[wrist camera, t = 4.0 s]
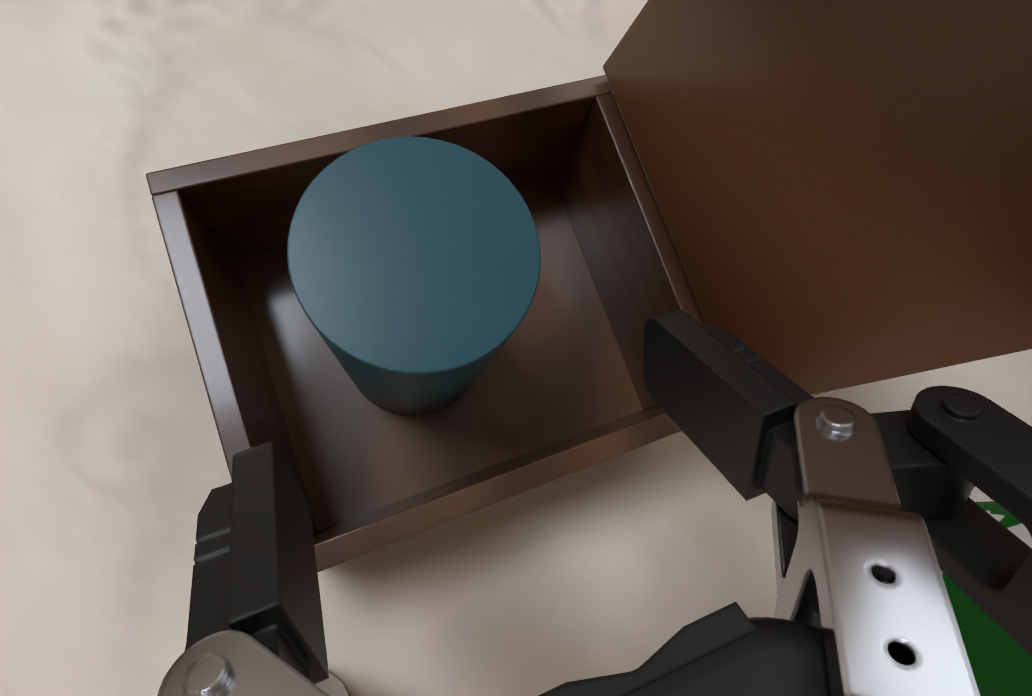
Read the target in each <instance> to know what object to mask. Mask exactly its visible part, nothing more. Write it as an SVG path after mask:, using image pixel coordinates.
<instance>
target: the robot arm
mask: <svg viewBox="0 0 1032 696" xmlns="http://www.w3.org/2000/svg"><path fill="white" fill-rule="evenodd" d="M643 378H644V382H645V385H646V388H647V390H648V392H649V394H650V395H651V397H652V398H653V399H654V400H655V402H656V403H657V404H658V405H659V406H660V407H661V408H662V409H663V410H664V411H665V412H666V414H667V415H668V416H669V417H670V418H671V419H672V420H673V421H674V422H675V423H676V424H677V426H678V427H679V428H680V429H681V430H682V431H683V432H684V433H685V434H686V435H687V436H688V438H689V439H690V440H691V441H692V442H693V443H694V444H695V445H696V446H697V447H698V448H699V450H700V451H701V452H702V453H703V454H704V455H705V456H706V457H707V458H708V459H709V460H710V462H711V463H712V464H713V465H714V466H715V467H716V468H717V469H718V470H719V471H720V472H721V474H722V475H723V476H724V477H725V478H726V479H727V480H728V481H729V482H730V483H731V484H732V486H733V487H734V488H735V489H736V490H737V491H738V492H739V493H740V494H741V495H742V496H743V498H744V499H745V500H746V501H747V500H750V499H752V498H754V497H757V496H759V495H761V494H764V493H767V494H768V495H769V496H770V497H771V498H772V499H773V504H772V525H773V538H774V552H775V565H776V579H777V604H776V613H775V618H770V617H753V618H748V617H747V616H746V615H745V613H744V612H743V611H742V609H741V608H740V607H739V605H738V604H737V603H736V602H734V603H732V604H730V605H728V606H726V607H724V608H722V609H720V610H718V611H715V612H713V613H711V614H709V615H707V616H705V617H703V618H701V619H699V620H696V621H694V622H692V623H690V624H688V625H686V626H684V627H683V628H682V629H680V630H679V631H678V632H677V633H676V634H675V635H674V636H673V637H672V638H671V639H670V640H669V641H667V642H666V643H665V644H664V645H663V646H662V647H661V648H660V649H659V650H658V651H657V652H656V653H654V654H653V655H652V656H651V657H650V658H649V659H648V660H647V661H646V662H645V663H644V664H643V665H642V666H640V667H639V668H638V669H636V670H634V671H631V672H626V673H620V674H614V675H608V676H602V677H596V678H590V679H584V680H578V681H572V682H566V683H564V684H562V685H560V686H558V687H556V688H554V689H552V690H549V691H547V692H545V693H543V694H541V695H539V696H980V694H979V690H978V687H977V684H976V681H975V678H974V675H973V671H972V668H971V665H970V662H969V659H968V656H967V652H966V649H965V646H964V643H963V640H962V637H961V634H960V630H959V627H958V624H957V621H956V618H955V615H954V611H953V608H952V605H951V602H950V599H949V596H948V592H947V589H946V586H945V583H944V580H943V577H942V573H941V571H942V572H943V573H944V574H945V575H946V576H947V577H948V578H949V579H950V580H951V581H952V582H953V583H954V584H955V585H956V586H957V587H959V588H960V589H961V590H962V591H963V592H964V593H965V594H966V595H967V596H968V597H969V598H970V599H971V600H972V601H973V602H974V603H975V604H976V605H977V606H978V607H979V608H980V609H981V610H983V611H984V612H985V613H986V614H987V615H988V616H989V617H990V618H991V619H992V620H993V621H994V622H995V623H996V624H997V625H998V626H999V627H1000V628H1001V629H1002V630H1003V631H1004V632H1006V633H1007V634H1008V635H1009V636H1010V637H1011V638H1012V639H1013V640H1014V641H1015V642H1016V643H1017V644H1018V645H1019V646H1020V647H1021V648H1022V649H1023V650H1024V651H1025V652H1026V653H1027V654H1028V655H1030V656H1031V657H1032V548H1031V547H1029V546H1028V545H1027V544H1026V543H1025V542H1023V541H1022V540H1021V539H1020V538H1018V537H1017V536H1016V535H1015V534H1013V533H1012V532H1011V531H1010V530H1008V529H1007V528H1006V527H1005V526H1004V525H1002V524H1001V523H1000V522H999V521H997V520H996V519H995V518H994V517H992V516H991V515H990V514H989V513H987V512H986V511H985V510H984V509H983V508H981V507H980V506H979V505H978V504H976V503H975V502H974V501H973V500H971V499H970V498H969V495H970V493H971V492H972V490H973V488H974V486H976V487H977V488H978V489H980V490H981V491H982V492H983V493H985V494H986V495H987V496H989V497H990V498H991V499H992V500H994V501H995V502H996V503H997V504H999V505H1000V506H1001V507H1003V508H1004V509H1005V510H1006V511H1008V512H1009V513H1010V514H1011V515H1013V516H1014V517H1015V518H1017V519H1018V520H1019V521H1020V522H1021V523H1022V524H1023V525H1024V526H1025V527H1026V529H1027V530H1028V531H1029V533H1030V535H1031V538H1032V427H1031V426H1030V425H1028V424H1027V423H1025V422H1023V421H1022V420H1020V419H1019V418H1017V417H1016V416H1014V415H1013V414H1011V413H1009V412H1008V411H1006V410H1005V409H1003V408H1002V407H1000V406H999V405H997V404H996V403H994V402H992V401H991V400H989V399H987V398H986V397H984V396H982V395H980V394H978V393H975V392H972V391H970V390H966V389H962V388H958V387H951V386H934V387H929V388H926V389H924V390H922V391H920V392H919V393H918V394H917V396H916V397H915V400H914V402H913V405H912V407H911V410H905V411H894V412H883V413H872V414H870V413H868V412H867V411H866V410H865V409H863V408H861V407H860V406H858V405H856V404H854V403H852V402H849V401H846V400H842V399H838V398H832V397H817V398H813V397H812V396H811V395H809V394H808V393H807V392H806V391H804V390H803V389H802V388H801V387H799V386H798V385H797V384H795V383H794V382H793V381H792V380H790V379H789V378H788V377H786V376H785V375H784V374H783V373H781V372H780V371H779V370H777V369H776V368H775V367H774V366H772V365H771V364H770V363H768V362H767V361H766V360H765V359H761V358H760V356H759V355H758V354H757V353H756V352H754V351H753V350H752V349H750V348H747V346H746V345H745V344H744V343H743V342H741V341H740V340H739V339H738V338H736V337H735V336H734V335H732V334H731V333H730V332H728V331H725V330H723V329H720V328H717V327H715V326H712V325H710V324H707V323H706V324H703V325H701V324H699V323H698V322H697V321H696V320H694V319H693V318H692V317H691V316H689V315H688V314H687V313H686V312H684V311H683V310H680V309H677V310H674V311H671V312H668V313H665V314H662V315H659V316H655V317H652V318H649V319H648V320H647V321H646V322H645V326H644V352H643ZM196 541H197V544H196V545H195V554H194V561H195V565H194V566H193V577H192V588H191V599H190V610H189V621H188V632H187V643H186V648H185V652H184V653H183V654H182V655H181V656H180V657H179V658H178V659H177V660H176V661H175V662H174V664H173V665H172V666H171V668H170V669H169V671H168V672H167V674H166V676H165V677H164V679H163V681H162V684H161V686H160V688H159V692H158V696H329V695H328V694H327V693H325V692H324V691H323V690H321V689H320V688H319V687H317V686H316V685H315V684H317V683H319V682H321V681H324V680H326V679H328V678H329V672H328V663H327V654H326V645H325V636H324V627H323V618H322V610H321V601H320V592H319V583H318V574H317V565H316V556H315V547H314V539H313V530H312V521H311V516H310V511H309V508H308V504H307V501H306V498H305V496H304V493H303V491H302V489H301V487H300V485H299V483H298V481H297V479H296V477H295V475H294V473H293V471H292V469H291V467H290V465H289V463H288V462H287V460H286V458H285V456H284V454H283V452H282V450H281V448H280V446H279V444H278V443H277V442H276V441H275V440H273V441H270V442H267V443H264V444H261V445H258V446H255V447H252V448H249V449H246V450H243V451H240V452H237V453H234V455H233V460H232V483H230V484H227V485H224V486H221V487H218V488H215V489H212V490H211V492H210V494H209V496H208V498H207V500H206V501H205V503H204V505H203V507H202V509H201V511H200V512H199V514H198V521H197V532H196Z"/></svg>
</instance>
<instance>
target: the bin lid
mask: <svg viewBox="0 0 1032 696" xmlns="http://www.w3.org/2000/svg"><path fill="white" fill-rule="evenodd" d="M603 69H604V71H605V74H606V76H607V79H608V81H609V84H610V86H611V89H612V91H613V94H614V96H615V99H616V101H617V104H618V106H619V109H620V111H621V113H622V116H623V118H624V121H625V123H626V126H627V128H628V131H629V133H630V136H631V138H632V141H633V143H634V146H635V148H636V151H637V153H638V155H639V158H640V160H641V163H642V165H643V168H644V170H645V173H646V175H647V178H648V180H649V183H650V185H651V188H652V190H653V193H654V195H655V197H656V200H657V202H658V205H659V207H660V210H661V212H662V215H663V217H664V220H665V222H666V225H667V227H668V230H669V232H670V235H671V237H672V239H673V242H674V244H675V247H676V249H677V252H678V254H679V257H680V259H681V262H682V264H683V267H684V269H685V272H686V274H687V277H688V279H689V281H690V284H691V286H692V289H693V291H694V294H695V296H696V299H697V301H698V304H699V306H700V309H701V311H702V314H703V316H704V319H705V321H706V323H707V324H710V325H712V326H715V327H717V328H720V329H723V330H725V331H728V332H730V333H731V334H732V335H734V336H735V337H736V338H738V339H739V340H740V341H741V342H743V343H744V344H745V345H746V346H747V348H750V349H752V350H753V351H754V352H756V353H757V354H758V355H759V356H760V358H761V359H765V360H766V361H767V362H768V363H770V364H771V365H772V366H774V367H775V368H776V369H777V370H779V371H780V372H781V373H783V374H784V375H785V376H786V377H788V378H789V379H790V380H792V381H793V382H794V383H795V384H797V385H798V386H799V387H801V388H802V389H803V390H804V391H806V392H807V393H808V394H809V395H814V394H818V393H823V392H828V391H833V390H837V389H842V388H847V387H852V386H857V385H861V384H866V383H871V382H876V381H880V380H885V379H890V378H895V377H899V376H904V375H909V374H914V373H919V372H923V371H928V370H933V369H938V368H942V367H947V366H952V365H957V364H961V363H966V362H971V361H976V360H981V359H985V358H990V357H995V356H1000V355H1004V354H1009V353H1014V352H1019V351H1023V350H1028V349H1032V0H648V2H647V3H646V4H645V6H644V7H643V9H642V10H641V12H640V13H639V15H638V16H637V18H636V19H635V20H634V22H633V23H632V25H631V26H630V28H629V29H628V31H627V32H626V34H625V35H624V36H623V38H622V39H621V41H620V42H619V44H618V45H617V47H616V48H615V50H614V51H613V52H612V54H611V55H610V57H609V58H608V60H607V61H606V63H605V64H604V66H603Z"/></svg>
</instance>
